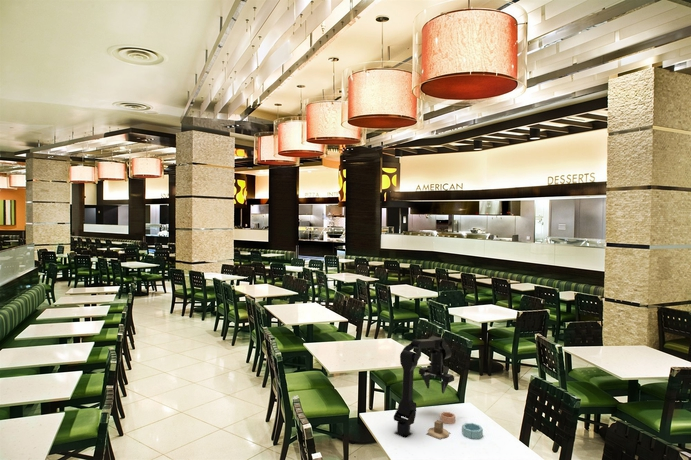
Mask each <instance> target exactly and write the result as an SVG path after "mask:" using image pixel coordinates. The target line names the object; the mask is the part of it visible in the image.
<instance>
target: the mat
mask: <svg viewBox="0 0 691 460" xmlns="http://www.w3.org/2000/svg"><path fill="white" fill-rule="evenodd" d="M448 432H449V431H448ZM450 434H452V433H451V432H449V435H450ZM425 435H427V436H429V437H432V436H430V435H429V434H428V432H427V433H425ZM432 438H433V437H432ZM435 439H437V440H439V441H441V440H442V439H444V438H442V439H440V438H435Z"/></svg>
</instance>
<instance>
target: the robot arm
mask: <svg viewBox="0 0 691 460" xmlns="http://www.w3.org/2000/svg"><path fill="white" fill-rule="evenodd" d="M429 348H430V349H431V350H429V354H431V355H430V356H431V357H430V362H429V366H430V367H427V366H423V367H420V368H419V369H418V374H419V375H420V377H421V378H422V379H423V381H424V384H425V386H426V388H427V389H430V379H431V376H433V377H437V378H440V379H441V381H440V386H441V394H444V393H445V392H446V390H447V387H448V384H450V383H452V382H454V381H455V376H454V375H453V374H451V373H448V372H449V366H445V365H444V364H445V363H443V360H447V359H449V358H451V356H452V354H453V352H452V349H451V348H450V346H449V345H447V343H446V341H445V338H443V337H438V336H434V335H433V336H429V338H427V339H425V338H423V339H412V341H411V342H410V343H409V344H408V345H406V346H404V348H403V349H402V351H401V352H400V353H399V354H400V355H399V358H400V361H399V362H400V365H401V367H402V369H403V373H402V392H401V393H402V394H401V399H400V401H399V403H398V405H397V406H398V407H397V409H396V411H395V413H394V415H393V420H394V421H396V422H397V424H396V425H397V426H396V427H397V428H396V429H397V430H396V431H395V432H394V434H395V435H398V436H399V437H402V438H408V437H410V436H411V435H413V432H411V425H412V424H414V423H415V420H416V415H417V402H415V401H414V400H413V394H414V374H415V373H414V371H415V369H416V368H417V366H418V361H419V359H420V358H421V357H422V350H423V349H429ZM414 349H417V351H416V352H415V351H413V350H414Z"/></svg>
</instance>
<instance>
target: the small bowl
mask: <svg viewBox="0 0 691 460" xmlns="http://www.w3.org/2000/svg"><path fill="white" fill-rule="evenodd" d="M439 417H440V421H442V422H443V424H445V425H453V424H455V422H456V415H455V413H453V412H450V411H448V412H447V411H443V412H441V413H440V416H439Z"/></svg>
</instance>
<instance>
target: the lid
mask: <svg viewBox="0 0 691 460" xmlns="http://www.w3.org/2000/svg"><path fill="white" fill-rule="evenodd" d="M427 433H428V434H429V435H430V436H429V435H428V436H429V437H431V436H432V438H434V439H436V438H440V439H441V440H442V438H443V439H446V438H448V437H449V436H450V434H449V430H447V429H446V428H444V423H443V422H442V421H441V419H440V420H439V419H437V420H435V421H434V427H430V428H428V430H427Z"/></svg>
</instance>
